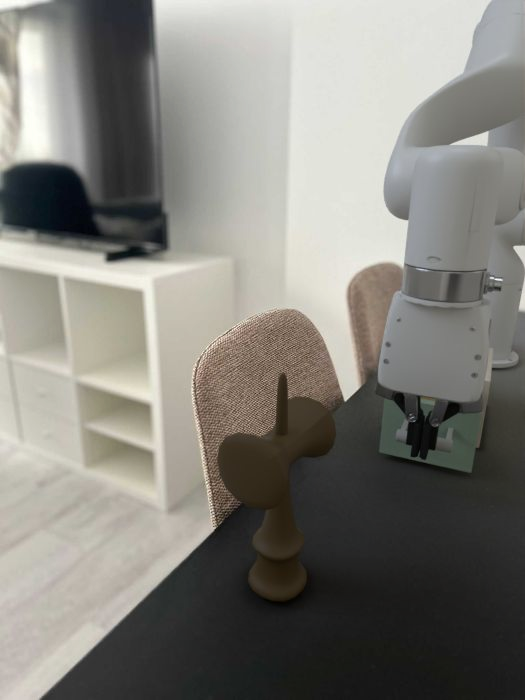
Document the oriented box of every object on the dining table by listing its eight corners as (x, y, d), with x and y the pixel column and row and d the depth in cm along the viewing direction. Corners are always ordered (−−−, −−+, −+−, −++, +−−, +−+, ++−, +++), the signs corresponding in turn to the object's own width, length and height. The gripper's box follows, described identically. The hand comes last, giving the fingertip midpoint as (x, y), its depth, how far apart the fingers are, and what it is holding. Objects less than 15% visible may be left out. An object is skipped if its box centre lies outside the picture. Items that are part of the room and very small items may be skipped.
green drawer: (468, 494, 56) (479, 431, 54) (370, 471, 61) (376, 411, 58) (477, 426, 72) (485, 374, 69) (398, 411, 76) (403, 361, 73)
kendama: (216, 604, 43) (211, 384, 36) (277, 539, 50) (282, 348, 44) (277, 639, 40) (283, 405, 33) (332, 564, 47) (346, 362, 41)
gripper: (527, 284, 49) (496, 452, 55) (373, 271, 55) (360, 424, 61) (530, 301, 43) (494, 488, 49) (355, 283, 49) (342, 453, 55)
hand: (420, 452), depth 55 cm, fingers closed
